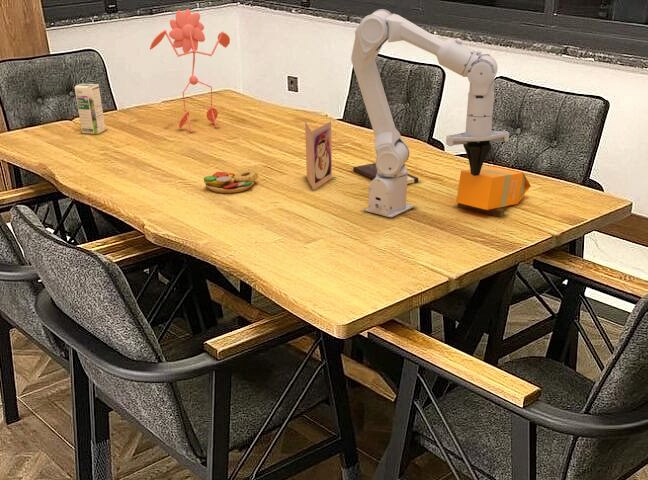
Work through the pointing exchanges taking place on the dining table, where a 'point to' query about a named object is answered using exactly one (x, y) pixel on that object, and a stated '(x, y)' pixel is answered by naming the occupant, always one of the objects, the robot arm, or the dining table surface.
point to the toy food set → (231, 181)
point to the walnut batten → (495, 212)
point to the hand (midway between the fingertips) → (474, 174)
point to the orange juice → (492, 187)
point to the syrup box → (90, 108)
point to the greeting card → (318, 155)
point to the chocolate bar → (371, 172)
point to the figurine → (187, 37)
